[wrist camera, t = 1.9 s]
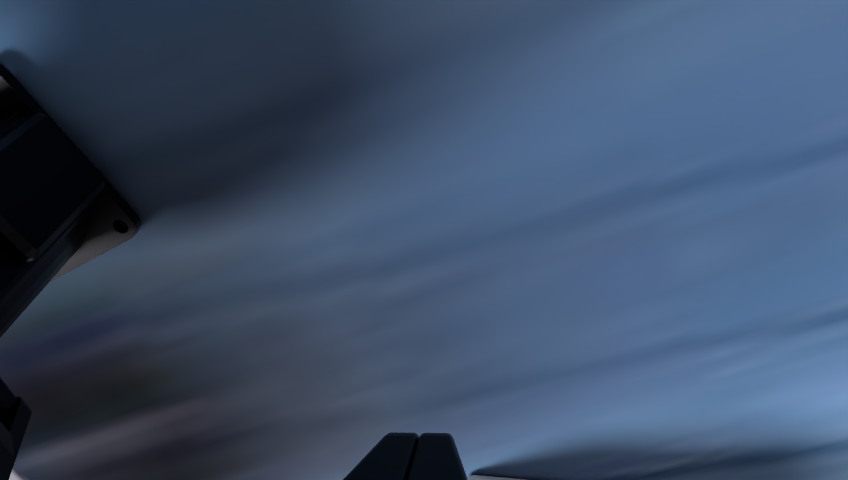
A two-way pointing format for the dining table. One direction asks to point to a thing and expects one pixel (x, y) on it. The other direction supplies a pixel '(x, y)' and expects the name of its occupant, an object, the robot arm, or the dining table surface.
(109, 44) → the dining table surface
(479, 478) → the medicine bottle
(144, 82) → the dining table surface
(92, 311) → the dining table surface
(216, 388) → the dining table surface
